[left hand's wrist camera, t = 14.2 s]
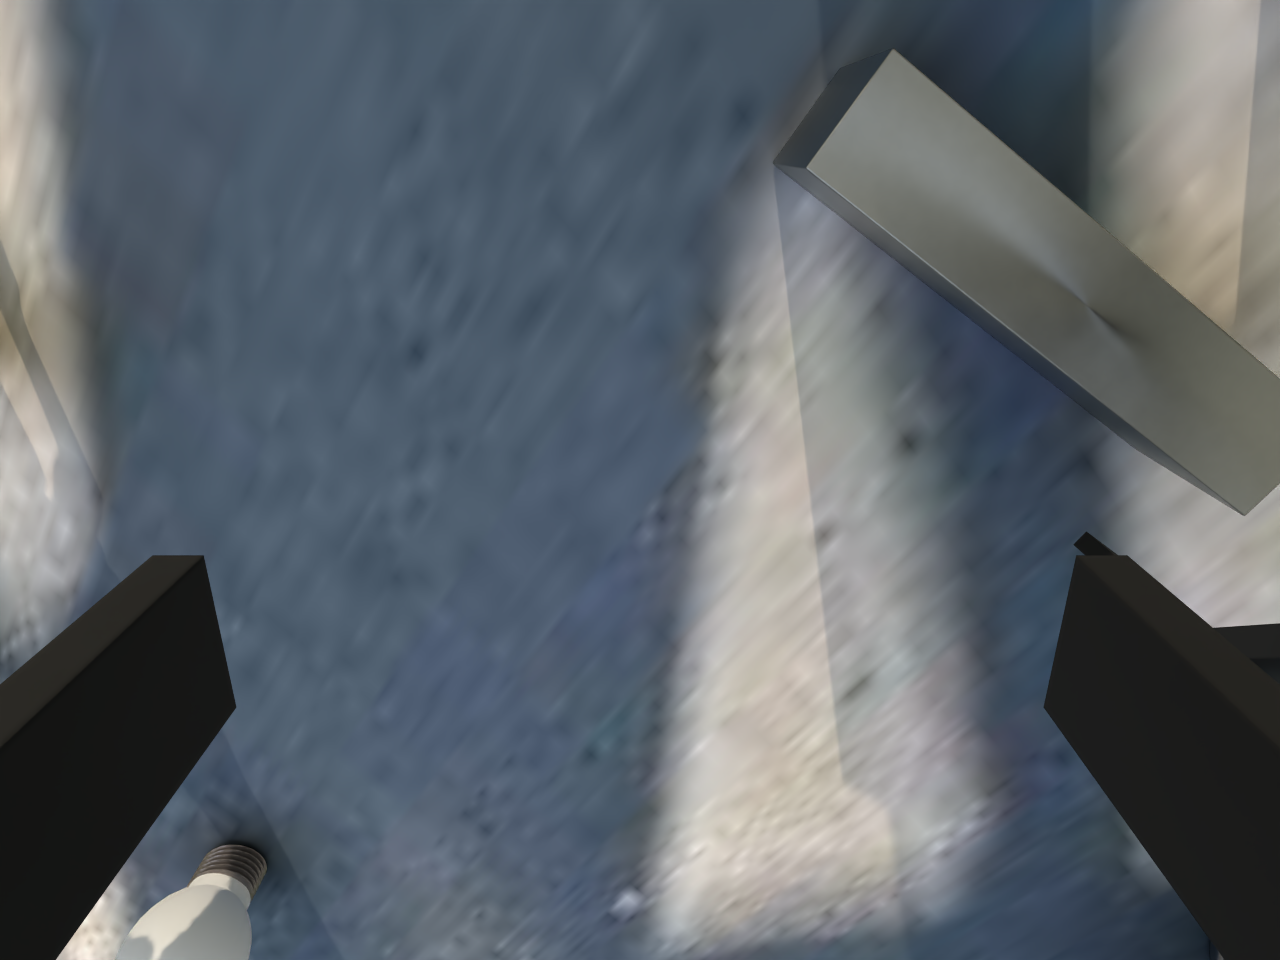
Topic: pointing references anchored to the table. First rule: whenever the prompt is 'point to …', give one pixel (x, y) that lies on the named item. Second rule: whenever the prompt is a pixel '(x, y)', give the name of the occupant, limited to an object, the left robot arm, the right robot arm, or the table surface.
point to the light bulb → (202, 912)
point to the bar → (1038, 275)
